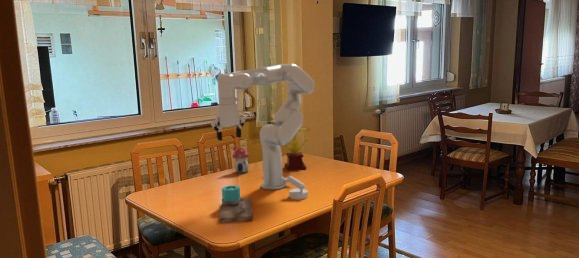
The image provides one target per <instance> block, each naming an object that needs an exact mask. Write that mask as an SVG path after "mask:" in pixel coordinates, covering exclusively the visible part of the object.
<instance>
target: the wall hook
mask: <svg viewBox="0 0 579 258" xmlns="http://www.w3.org/2000/svg"><path fill="white" fill-rule="evenodd" d="M286 178H287V181H288V182H287V183H289V184H291V185H292V186H294V187H296V188H292V189H290V190H289V192H288V193H289V198H290V199H292V200H305V199H308V197H309V194H308V193H309V191H308V190H307V189H305V188H306V185H305V183H304V182H302V181H300V180H298V179H297V178H296V177H294V176H292V175H289V176H288V177H286Z"/></svg>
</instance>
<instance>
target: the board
mask: <svg viewBox="0 0 579 258" xmlns="http://www.w3.org/2000/svg"><path fill="white" fill-rule="evenodd" d="M229 189H233V188H229ZM252 205H253V204H252V197H246V198H245V197H244V198H242V196H240V199H239V200H236V201H233V202H232V201H224V200H223V199H222V198H221V206H220V214H219V223H220V224H224V223H239V222H250V221H251V222H252V221H254V220H253V207H252Z"/></svg>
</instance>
